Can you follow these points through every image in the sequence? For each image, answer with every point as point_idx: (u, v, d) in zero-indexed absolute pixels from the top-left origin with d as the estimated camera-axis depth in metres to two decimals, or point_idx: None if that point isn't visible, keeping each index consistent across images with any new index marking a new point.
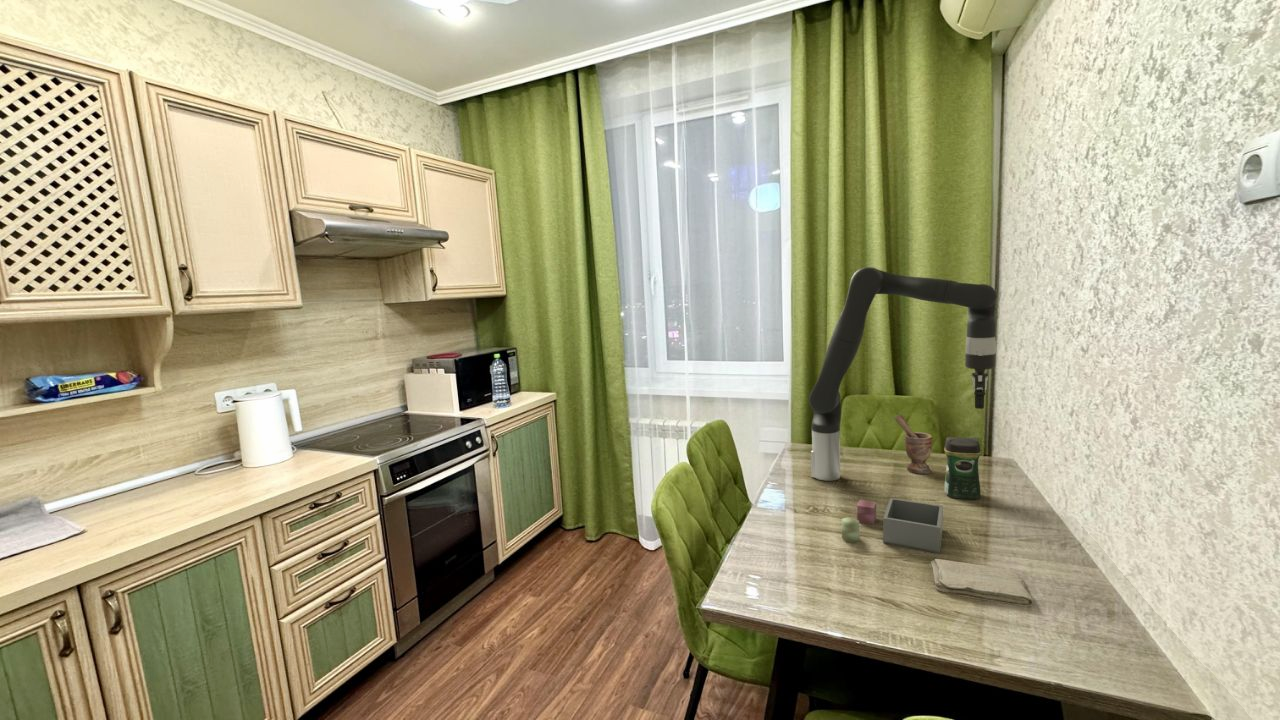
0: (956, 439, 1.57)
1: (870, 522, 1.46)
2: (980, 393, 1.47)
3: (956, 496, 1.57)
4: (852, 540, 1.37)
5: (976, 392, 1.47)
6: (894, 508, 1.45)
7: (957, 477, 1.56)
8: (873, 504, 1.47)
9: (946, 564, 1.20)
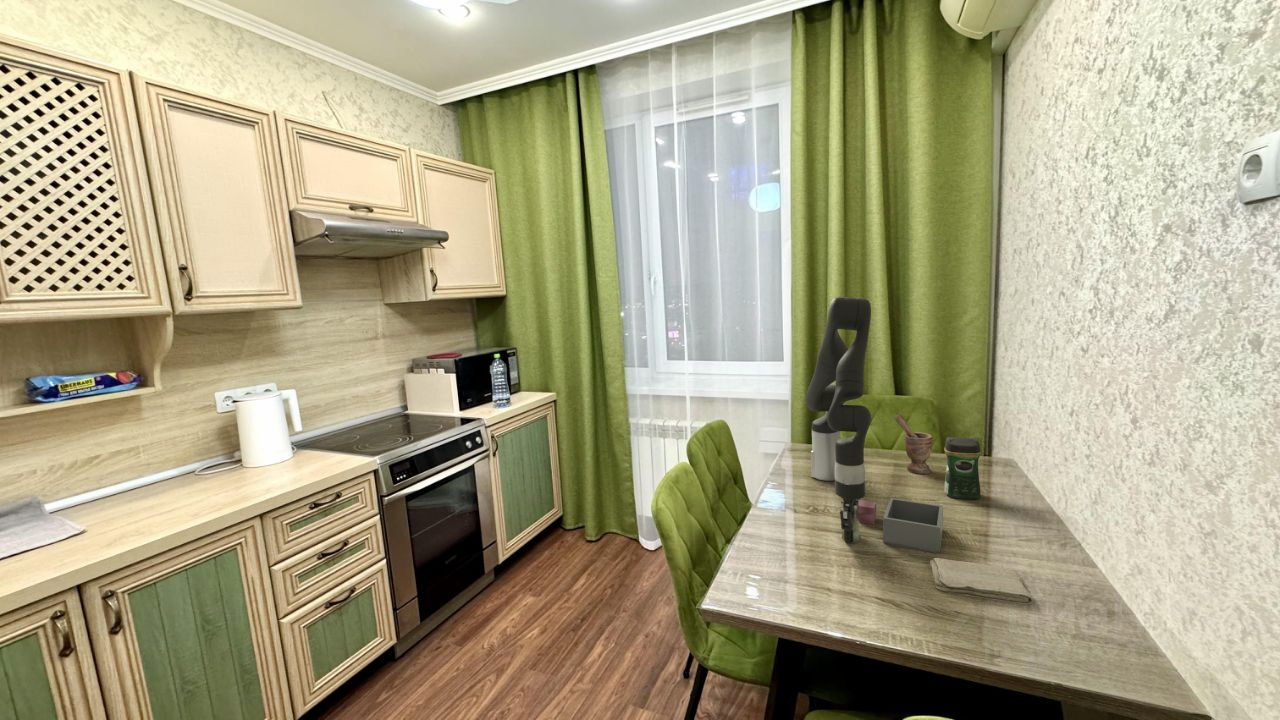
0: (956, 439, 1.57)
1: (870, 522, 1.46)
2: (847, 529, 1.34)
3: (956, 496, 1.57)
4: None
5: (843, 526, 1.34)
6: (894, 508, 1.45)
7: (957, 477, 1.56)
8: (873, 504, 1.47)
9: (945, 563, 1.20)
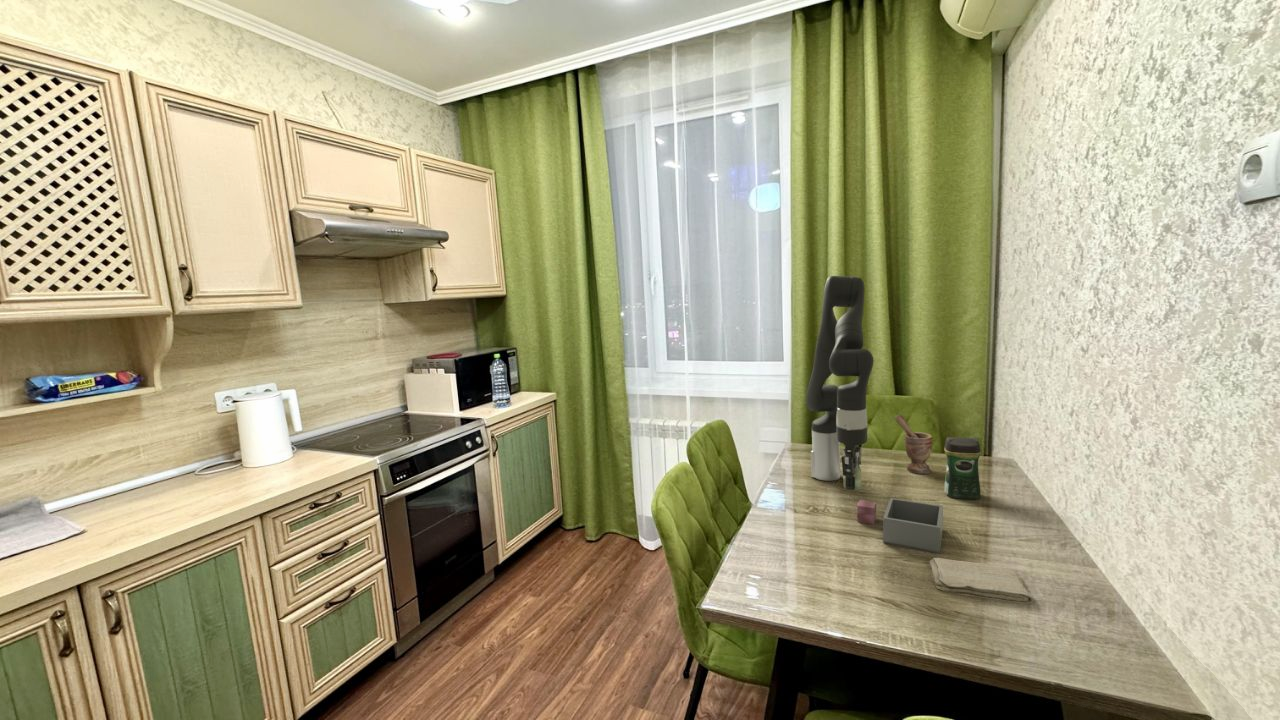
0: (956, 439, 1.57)
1: (870, 522, 1.46)
2: (848, 475, 1.31)
3: (956, 496, 1.57)
4: None
5: (844, 473, 1.32)
6: (894, 508, 1.45)
7: (957, 477, 1.56)
8: (873, 504, 1.47)
9: (945, 563, 1.20)
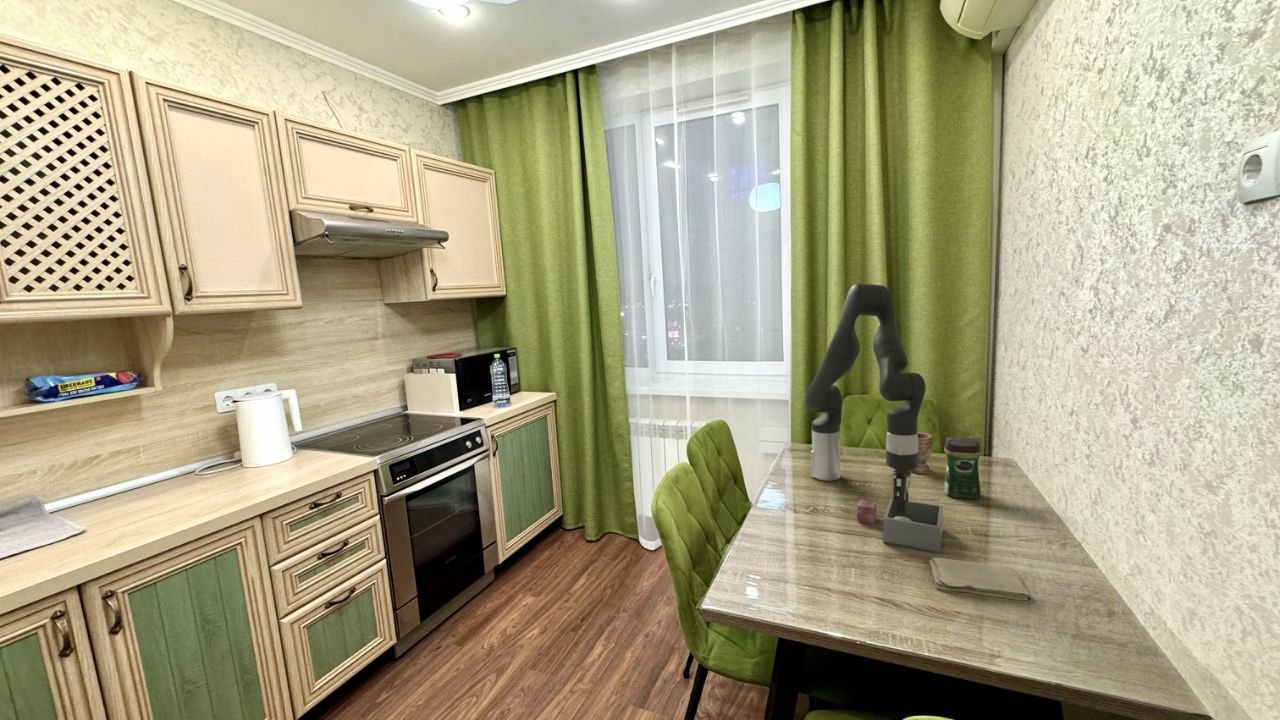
0: (956, 439, 1.57)
1: (870, 522, 1.46)
2: (899, 499, 1.29)
3: (956, 496, 1.57)
4: None
5: (895, 498, 1.29)
6: (894, 508, 1.45)
7: (957, 477, 1.56)
8: (873, 504, 1.47)
9: (945, 563, 1.20)
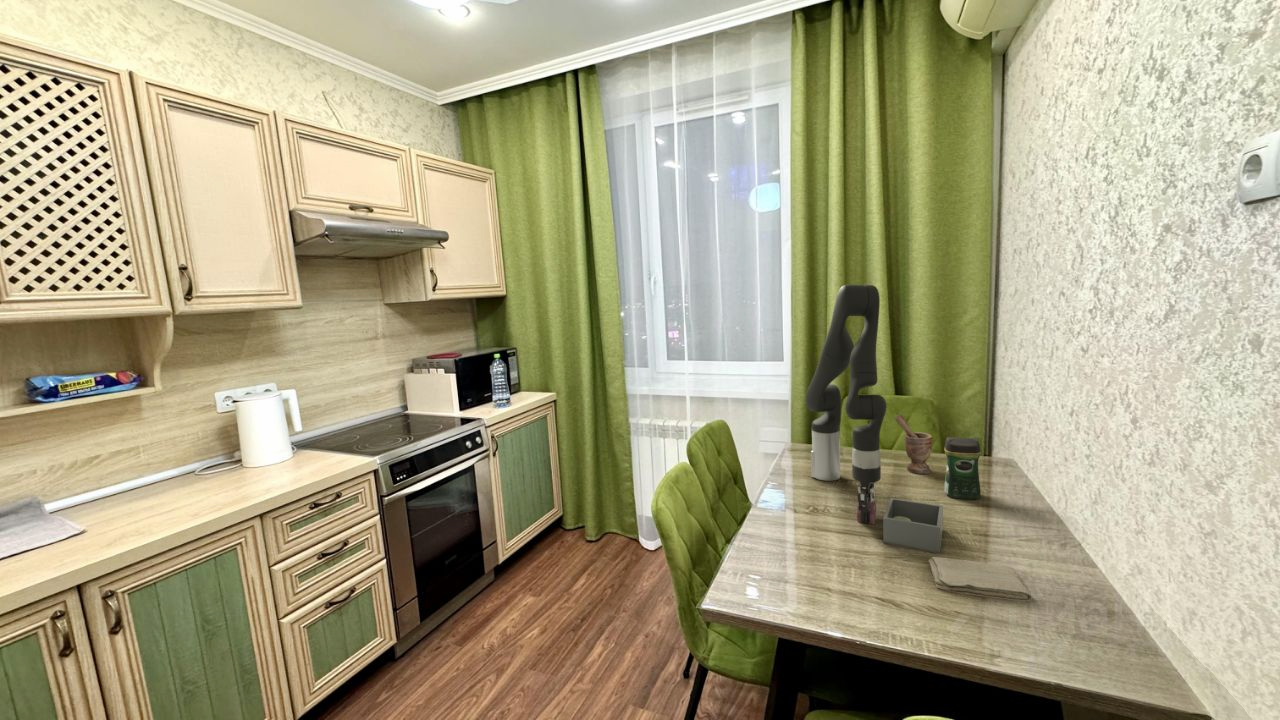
0: (956, 439, 1.57)
1: (870, 522, 1.46)
2: (864, 510, 1.43)
3: (956, 496, 1.57)
4: None
5: (860, 508, 1.44)
6: (894, 508, 1.45)
7: (957, 477, 1.56)
8: (873, 504, 1.47)
9: (944, 562, 1.21)
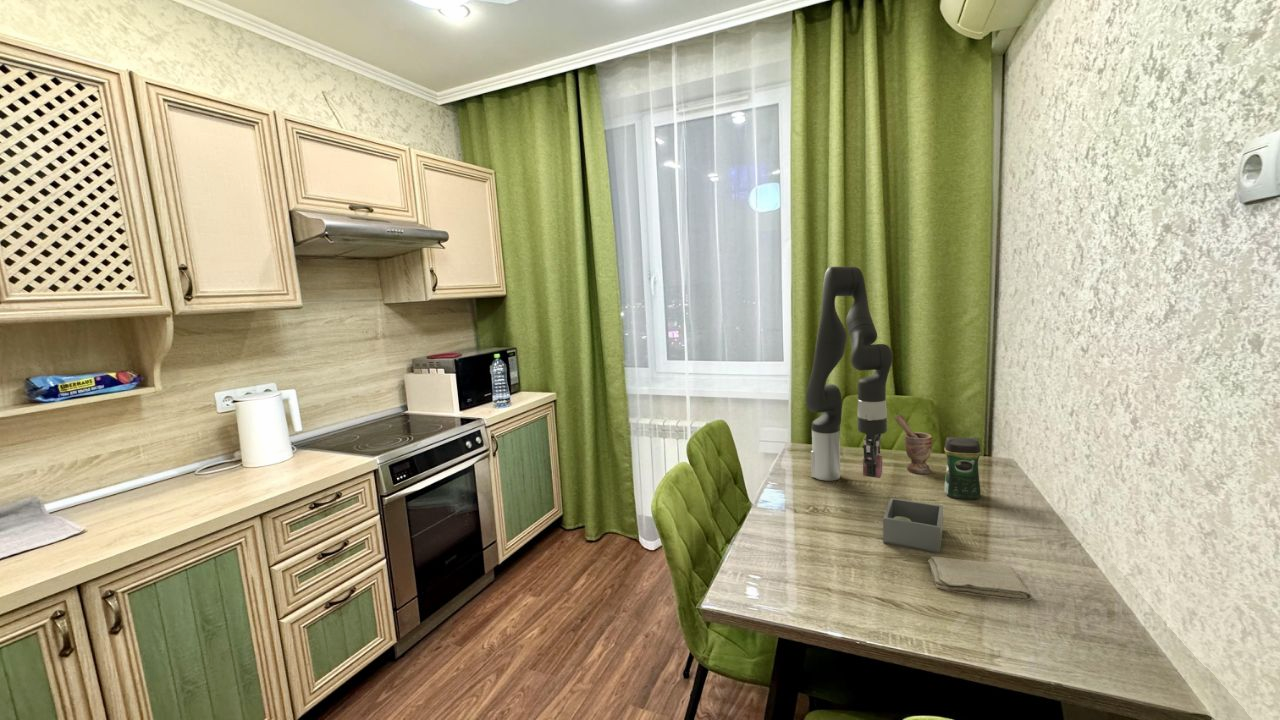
0: (956, 439, 1.57)
1: (876, 475, 1.42)
2: (869, 462, 1.40)
3: (956, 496, 1.57)
4: None
5: (866, 460, 1.40)
6: (894, 508, 1.45)
7: (957, 477, 1.56)
8: (879, 457, 1.44)
9: (944, 562, 1.21)
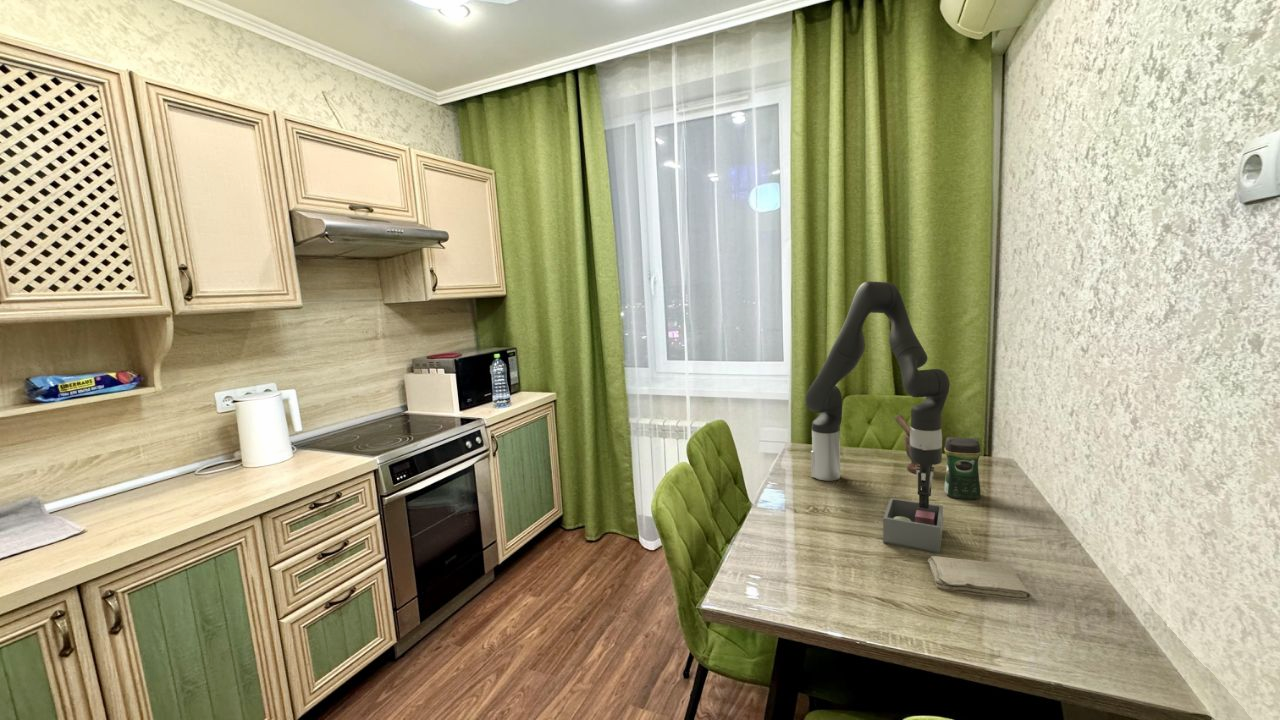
0: (956, 439, 1.57)
1: None
2: (923, 493, 1.31)
3: (956, 496, 1.57)
4: None
5: (919, 492, 1.31)
6: (894, 508, 1.45)
7: (957, 477, 1.56)
8: (932, 515, 1.37)
9: (943, 561, 1.21)
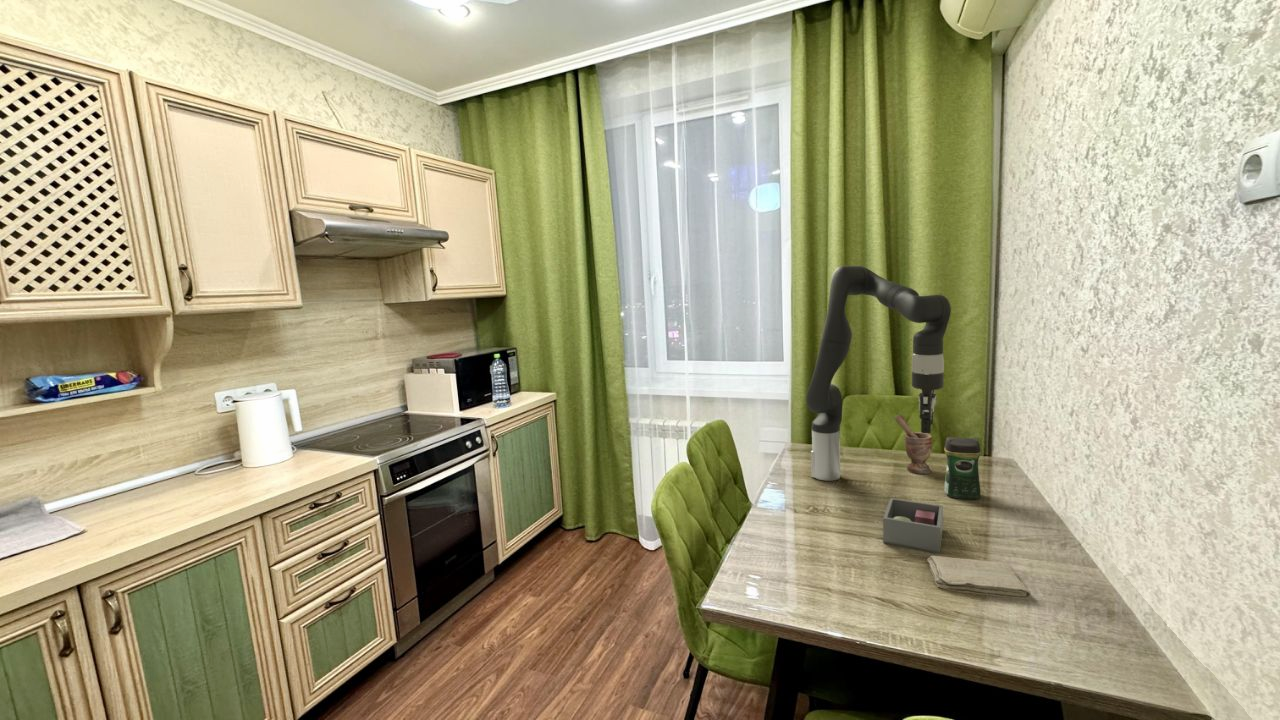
0: (956, 439, 1.57)
1: None
2: (926, 417, 1.32)
3: (956, 496, 1.57)
4: None
5: (921, 415, 1.32)
6: (894, 508, 1.45)
7: (957, 477, 1.56)
8: (932, 515, 1.37)
9: (943, 561, 1.21)
